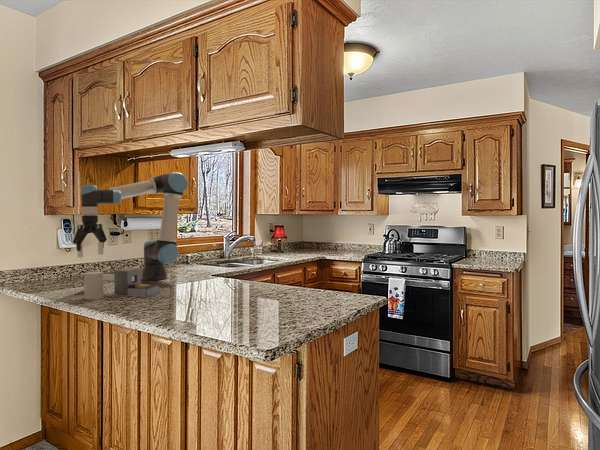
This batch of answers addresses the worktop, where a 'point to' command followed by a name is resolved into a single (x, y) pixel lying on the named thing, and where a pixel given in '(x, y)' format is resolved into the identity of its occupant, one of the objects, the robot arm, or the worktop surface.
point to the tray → (144, 291)
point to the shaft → (109, 276)
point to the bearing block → (126, 280)
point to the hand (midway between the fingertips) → (90, 255)
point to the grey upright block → (93, 285)
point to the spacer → (141, 286)
